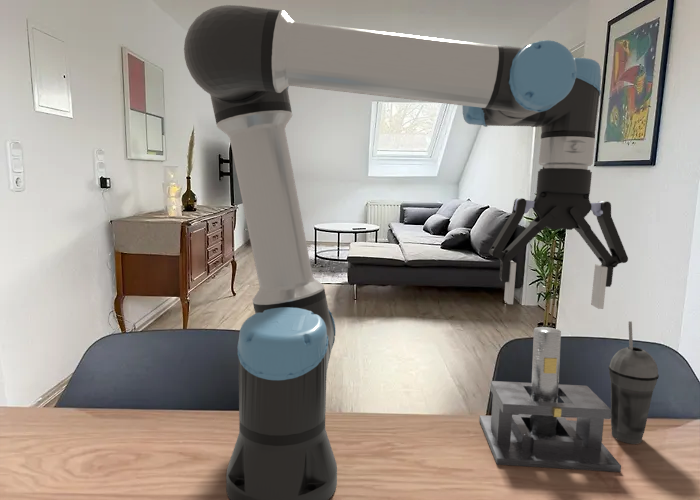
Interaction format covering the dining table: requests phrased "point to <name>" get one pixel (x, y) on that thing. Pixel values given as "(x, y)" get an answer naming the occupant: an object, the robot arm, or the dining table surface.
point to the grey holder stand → (548, 451)
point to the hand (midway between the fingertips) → (552, 304)
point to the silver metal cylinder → (545, 377)
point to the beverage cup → (631, 391)
